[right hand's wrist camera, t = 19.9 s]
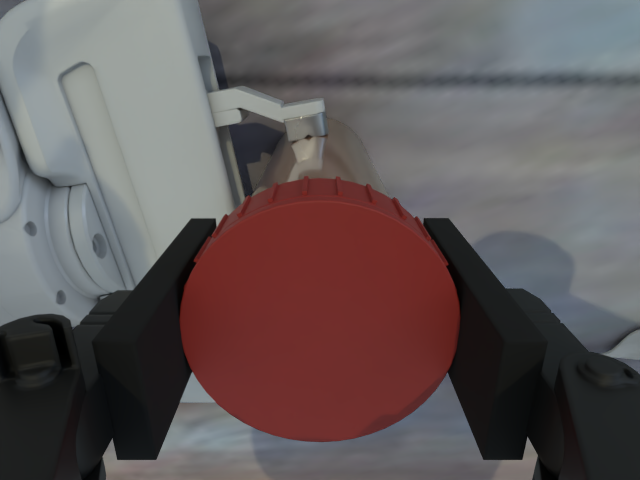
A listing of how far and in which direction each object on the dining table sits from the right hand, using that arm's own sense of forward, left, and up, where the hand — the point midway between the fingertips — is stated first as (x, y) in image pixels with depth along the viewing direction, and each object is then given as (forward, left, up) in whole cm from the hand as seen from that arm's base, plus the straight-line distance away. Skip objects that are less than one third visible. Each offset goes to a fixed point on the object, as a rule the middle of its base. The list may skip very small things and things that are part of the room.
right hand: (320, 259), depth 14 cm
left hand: (0, -1, -8) cm, 8 cm away
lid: (0, 0, +4) cm, 4 cm away
